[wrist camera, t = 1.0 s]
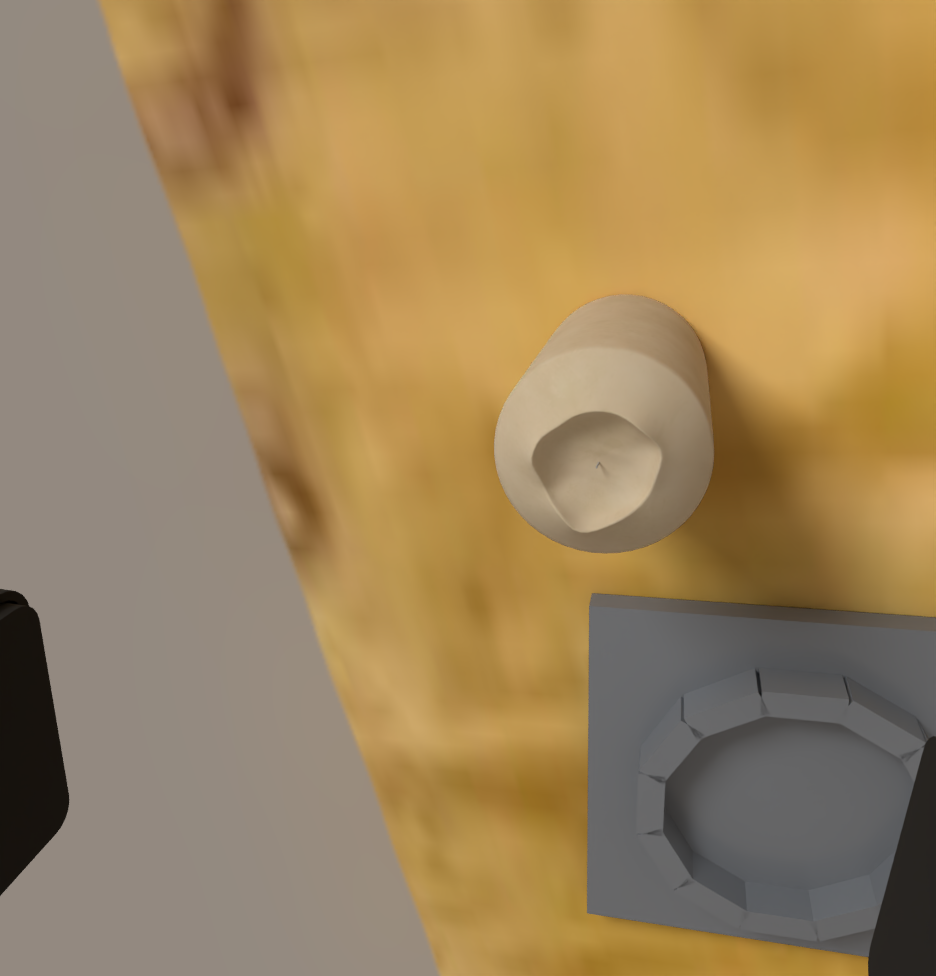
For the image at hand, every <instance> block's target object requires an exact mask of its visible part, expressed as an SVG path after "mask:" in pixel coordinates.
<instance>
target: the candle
mask: <svg viewBox="0 0 936 976" xmlns="http://www.w3.org/2000/svg"><path fill="white" fill-rule="evenodd" d="M494 456H495V463H496V469H497V472H498V476H499V479H500V482H501V485H502V487H503V489H504V491H505V494H506V495H507V497H508V499H509V500H510V502H511V504H512V505H513V506H514V508H515V509H516V510H517V511H518V513H519V514H520V515H521V516H522V517H523V518H524V519H525V520H526V521H527V522H528V523H529V524H530V525H531V526H532V527H534V528H535V529H536V530H537V531H539V532H540V533H541V534H543V535H545V536H546V537H548V538H550V539H551V540H553V541H556V542H558V543H560V544H562V545H564V546H567V547H571V548H574V549H577V550H582V551H587V552H593V553H620V552H626V551H632V550H636V549H639V548H643V547H646V546H648V545H651V544H653V543H655V542H658V541H659V540H661V539H663V538H665V537H666V536H668V535H670V534H671V533H672V532H674V531H675V530H676V529H677V528H679V527H680V526H681V525H682V524H683V523H684V522H685V521H686V520H687V519H688V518H689V517H690V516H691V515H692V513H693V512H694V511H695V509H696V508H697V507H698V505H699V504H700V502H701V500H702V498H703V496H704V495H705V493H706V490H707V487H708V485H709V482H710V479H711V475H712V470H713V464H714V440H713V427H712V416H711V405H710V394H709V383H708V372H707V365H706V360H705V355H704V351H703V348H702V346H701V343H700V341H699V339H698V337H697V335H696V333H695V332H694V330H693V329H692V328H691V326H690V325H689V323H688V322H687V321H686V320H685V319H684V318H683V317H682V316H681V315H679V314H678V313H677V312H676V311H674V310H673V309H672V308H670V307H668V306H667V305H665V304H663V303H661V302H659V301H656V300H654V299H651V298H647V297H643V296H637V295H613V296H607V297H603V298H600V299H597V300H594V301H592V302H589V303H587V304H585V305H584V306H582V307H580V308H578V309H577V310H576V311H574V312H573V313H572V314H570V315H569V316H568V317H567V318H566V319H565V320H564V321H563V322H562V323H561V325H560V326H559V327H558V328H557V329H556V331H555V332H554V333H553V335H552V336H551V337H550V339H549V340H548V342H547V343H546V344H545V346H544V347H543V348H542V350H541V351H540V353H539V354H538V355H537V357H536V358H535V360H534V361H533V362H532V364H531V365H530V367H529V368H528V369H527V371H526V372H525V374H524V375H523V376H522V378H521V379H520V381H519V382H518V383H517V385H516V386H515V388H514V389H513V390H512V392H511V393H510V395H509V397H508V399H507V400H506V402H505V404H504V406H503V408H502V411H501V413H500V416H499V419H498V423H497V427H496V432H495V440H494Z"/></svg>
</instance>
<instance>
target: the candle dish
mask: <svg viewBox="0 0 936 976" xmlns="http://www.w3.org/2000/svg"><path fill="white" fill-rule="evenodd" d="M933 736H936V618H935V617H921V616H906V615H892V614H878V613H864V612H850V611H836V610H821V609H807V608H793V607H779V606H765V605H750V604H736V603H722V602H708V601H694V600H680V599H665V598H651V597H637V596H623V595H609V594H594V593H592V596H591V601H590V606H589V729H588V867H587V913H589V914H596V915H602V916H608V917H615V918H621V919H628V920H634V921H640V922H647V923H653V924H660V925H666V926H673V927H679V928H685V929H692V930H698V931H705V932H711V933H717V934H724V935H730V936H737V937H743V938H750V939H756V940H762V941H769V942H775V943H782V944H788V945H794V946H801V947H807V948H814V949H820V950H827V951H833V952H839V953H846V954H852V955H859V956H865V957H869V951H870V945H871V941H872V938H873V934H874V930H875V927H876V923H877V919H878V916H879V912H880V908H881V904H882V901H883V897H884V893H885V890H886V886H887V882H888V879H889V875H890V871H891V867H892V864H893V860H894V856H895V853H896V849H897V845H898V842H899V838H900V834H901V830H902V827H903V823H904V819H905V816H906V812H907V808H908V805H909V801H910V797H911V793H912V790H913V786H914V782H915V779H916V775H917V771H918V767H919V764H920V760H921V756H922V753H923V749H924V747H925V744H926V742H927V740H928V739H929V738H930V737H933Z"/></svg>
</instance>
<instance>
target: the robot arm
mask: <svg viewBox="0 0 936 976" xmlns="http://www.w3.org/2000/svg"><path fill="white" fill-rule="evenodd" d="M68 807H69V793H68V787H67V782H66V775H65V770H64V763H63V757H62V751H61V745H60V739H59V734H58V728H57V722H56V716H55V710H54V704H53V698H52V692H51V686H50V680H49V674H48V669H47V662H46V657H45V651H44V645H43V639H42V633H41V627H40V621H39V618H38V614H37V613H36V611H35V610H34V609H33V608H31V607H29V605H28V602H27V600H26V599H25V597H24V596H23V595H22V594H20V593H18V592H16V591H11V590H4V589H0V895H1V894H2V893H3V892H4V891H5V890H6V889H7V887H8V886H9V885H10V884H11V883H12V882H13V881H14V880H15V879H16V878H17V876H18V875H19V874H20V873H21V872H22V871H23V870H24V869H25V868H26V866H27V865H28V864H29V863H30V862H31V861H32V860H33V859H34V858H35V856H36V855H37V854H38V853H39V852H40V851H41V850H42V849H43V848H44V846H45V845H46V844H47V843H48V842H49V841H50V840H51V839H52V838H53V836H54V835H55V834H56V833H57V832H58V830H59V829H60V828H61V826H62V824H63V822H64V820H65V818H66V815H67V812H68ZM868 974H869V976H936V736H933V737H930V738H929V739H928V740H927V742H926V744H925V747H924V749H923V753H922V756H921V760H920V764H919V767H918V771H917V775H916V779H915V782H914V786H913V790H912V793H911V797H910V801H909V805H908V808H907V812H906V816H905V819H904V823H903V827H902V830H901V834H900V838H899V842H898V845H897V849H896V853H895V856H894V860H893V864H892V867H891V871H890V875H889V879H888V882H887V886H886V890H885V893H884V897H883V901H882V904H881V908H880V912H879V916H878V919H877V923H876V927H875V930H874V934H873V938H872V941H871V945H870V951H869V960H868Z"/></svg>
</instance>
